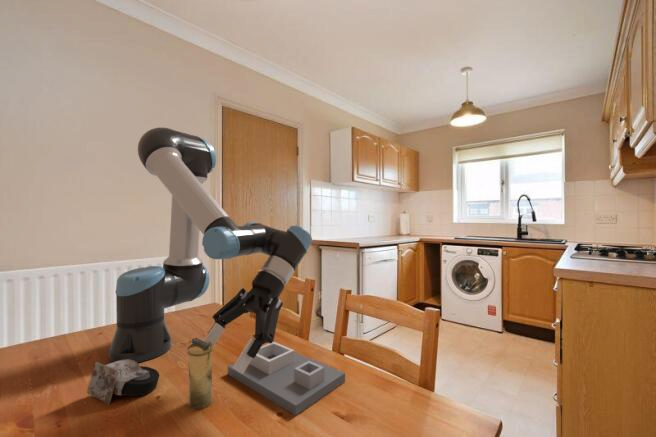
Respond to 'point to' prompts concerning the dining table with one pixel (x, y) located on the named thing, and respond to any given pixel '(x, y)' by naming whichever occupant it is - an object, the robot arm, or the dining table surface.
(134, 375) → the caster wheel
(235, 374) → the board
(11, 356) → the dining table surface
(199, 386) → the amber translucent cylinder
